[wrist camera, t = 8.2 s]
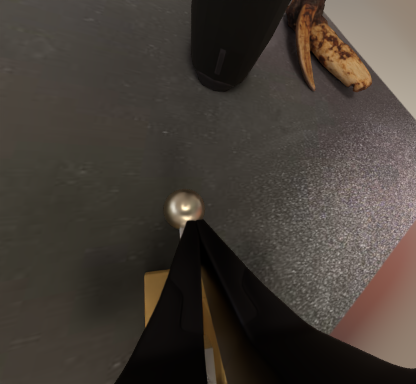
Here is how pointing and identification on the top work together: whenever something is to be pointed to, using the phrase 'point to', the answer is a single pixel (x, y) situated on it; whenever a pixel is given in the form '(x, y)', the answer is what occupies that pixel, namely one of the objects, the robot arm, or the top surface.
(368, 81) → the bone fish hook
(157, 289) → the tap bracket
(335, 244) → the top surface
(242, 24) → the portable speaker
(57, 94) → the top surface
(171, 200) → the tap lever
